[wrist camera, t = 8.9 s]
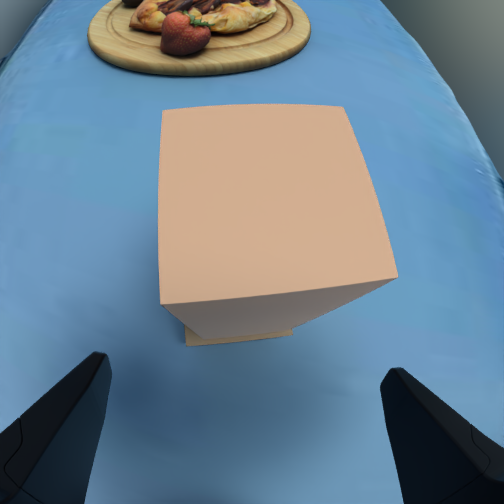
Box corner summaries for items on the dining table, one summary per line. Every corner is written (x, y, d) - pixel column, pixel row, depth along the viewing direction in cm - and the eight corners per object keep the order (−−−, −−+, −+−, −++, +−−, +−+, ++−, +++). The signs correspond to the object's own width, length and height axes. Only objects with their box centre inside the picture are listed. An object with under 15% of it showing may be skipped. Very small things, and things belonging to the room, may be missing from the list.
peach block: (287, 330, 18) (398, 277, 6) (204, 339, 17) (160, 304, 6) (276, 251, 20) (343, 106, 8) (196, 258, 19) (162, 110, 7)
